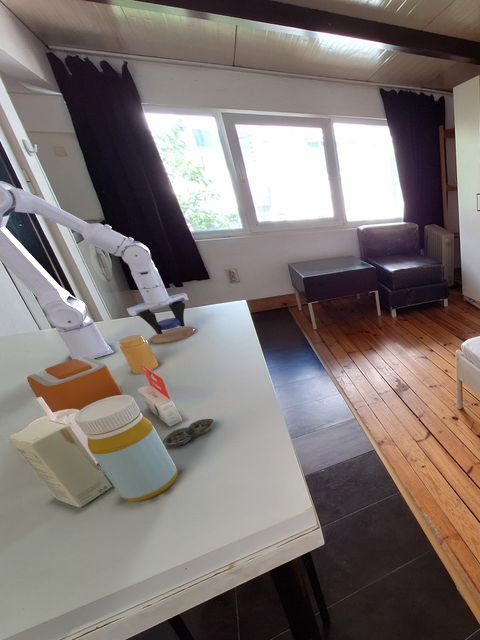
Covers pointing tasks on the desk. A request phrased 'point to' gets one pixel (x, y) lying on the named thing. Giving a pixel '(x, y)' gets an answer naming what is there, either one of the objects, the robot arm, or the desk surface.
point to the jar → (138, 353)
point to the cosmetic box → (60, 462)
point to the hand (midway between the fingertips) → (170, 329)
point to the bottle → (127, 447)
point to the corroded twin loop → (188, 432)
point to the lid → (169, 323)
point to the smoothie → (66, 418)
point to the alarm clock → (74, 384)
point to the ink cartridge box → (159, 399)
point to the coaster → (172, 335)
